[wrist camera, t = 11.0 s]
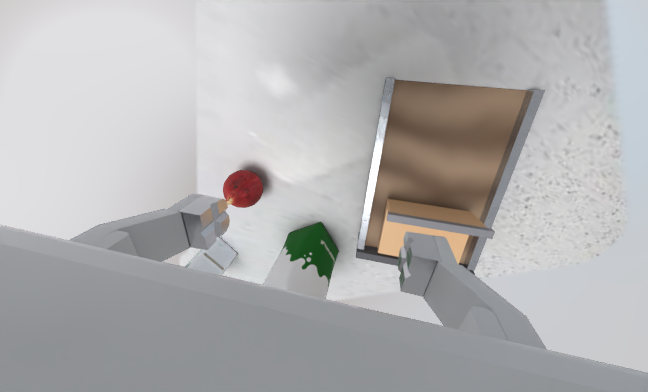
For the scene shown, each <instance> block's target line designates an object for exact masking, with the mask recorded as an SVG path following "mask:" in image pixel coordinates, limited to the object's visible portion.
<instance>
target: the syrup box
mask: <svg viewBox="0 0 648 392" xmlns="http://www.w3.org/2000/svg"><path fill="white" fill-rule="evenodd" d="M236 255H237V253H236V252H235V251H234V250H233V249H232V248H231V247H230V246H229V245H228V244H227V243H226V242H225V241H223V240H222V239H221V238H220V237H219V236H218V237H217V241H216V242H215V243H214V244H213V245H212V246H211V247H210V248H209V249H208V250H204V249H202V250H201V251H200V252H199V253H198V254H197V255H196V256H195V257H194V258H193V259H192V260H191V261H190V262H189V263H188V264H187V265H186V266H185V267H187V268H191V269H195V270H200V271H204V272H208V273H213V274H217V275H222V274H223V273H224V271H225V270H226V269H227V267H228V266H229V265H230V263H231V262H232V261H233V259H234V258H235V257H236Z"/></svg>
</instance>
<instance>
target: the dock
mask: <svg viewBox="0 0 648 392" xmlns="http://www.w3.org/2000/svg"><path fill="white" fill-rule="evenodd" d="M544 92H545V90H538V89H533V90H514V89H502V88H489V87H477V86H464V85H452V84H439V83H427V82H414V81H402V80H395V78H386V82H385V88H384V94H383V99H382V105H381V111H380V117H379V123H378V129H377V134H376V140H375V146H374V152H373V158H372V164H371V170H370V175H369V181H368V187H367V193H366V199H365V205H364V210H363V216H362V222H361V228H360V232H359V236H358V243H357V252H356V258H361V259H366V260H371V261H376V262H381V263H386V264H391V265H397V266H398V258H399V257H397V256H392V255H386V254H381V253H378V243H379V238H380V233H381V228H382V224H383V219H384V214H385V209H386V204H387V199H393V200H399V201H406V202H412V203H419V204H425V205H431V206H438V207H444V208H451V209H457V210H464V211H470V212H472V213H473V214H474V215H475V216H476V217H477V218H478V219H479V220H480V221H481V222H482V223H483V224H484V225H485V226H486V227H487V228H491V227H492V224H493V222H494V219H495V217H496V214H497V212H498V209H499V206H500V204H501V201H502V199H503V196H504V194H505V191H506V189H507V186H508V183H509V181H510V178H511V176H512V173H513V171H514V168H515V166H516V163H517V161H518V158H519V155H520V153H521V150H522V148H523V145H524V143H525V140H526V138H527V135H528V132H529V130H530V127H531V125H532V122H533V120H534V117H535V115H536V112H537V110H538V107H539V104H540V102H541V99H542V97H543V94H544ZM486 240H487V238H484V237H478V236H472V235H469V237H468V240H467V242H466V245H465V248H464V251H463V253H462V256H461V259H460V262H459V265H462V266H464V267H465V268H466V269H467V270H469V271H470V272H471V273H472V274H474V275H475V273H474V270H475V268H476V265H477V263H478V260H479V257H480V255H481V252H482V250H483V247H484V245H485V242H486Z"/></svg>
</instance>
